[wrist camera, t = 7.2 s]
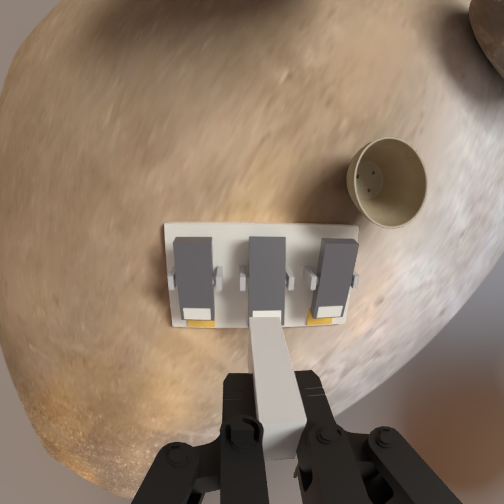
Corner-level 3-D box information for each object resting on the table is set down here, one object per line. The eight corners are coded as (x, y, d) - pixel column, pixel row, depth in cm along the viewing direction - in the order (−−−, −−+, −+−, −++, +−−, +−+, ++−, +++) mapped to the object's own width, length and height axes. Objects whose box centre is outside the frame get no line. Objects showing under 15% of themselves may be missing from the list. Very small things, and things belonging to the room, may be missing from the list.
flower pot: (348, 230, 34) (373, 244, 27) (317, 159, 32) (338, 156, 25) (405, 199, 34) (437, 206, 27) (379, 131, 31) (410, 125, 24)
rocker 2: (246, 236, 32) (247, 236, 30) (284, 237, 32) (287, 236, 30) (246, 322, 32) (247, 326, 30) (283, 321, 32) (286, 325, 30)
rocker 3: (319, 237, 30) (324, 243, 29) (354, 238, 30) (360, 244, 29) (308, 311, 34) (311, 319, 33) (340, 309, 35) (344, 317, 33)
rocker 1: (174, 236, 29) (170, 242, 28) (214, 236, 29) (212, 242, 28) (181, 312, 33) (179, 320, 32) (216, 312, 34) (216, 321, 32)
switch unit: (166, 222, 32) (155, 230, 28) (355, 224, 34) (372, 233, 29) (174, 322, 36) (167, 342, 32) (342, 320, 38) (354, 337, 33)
